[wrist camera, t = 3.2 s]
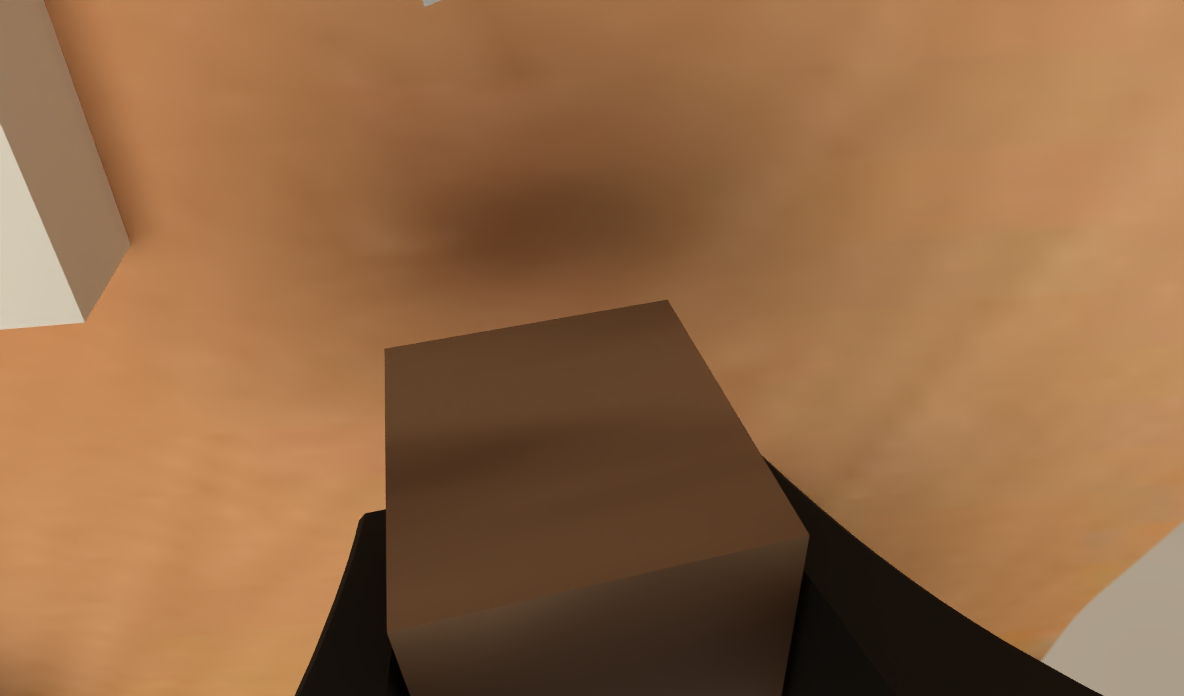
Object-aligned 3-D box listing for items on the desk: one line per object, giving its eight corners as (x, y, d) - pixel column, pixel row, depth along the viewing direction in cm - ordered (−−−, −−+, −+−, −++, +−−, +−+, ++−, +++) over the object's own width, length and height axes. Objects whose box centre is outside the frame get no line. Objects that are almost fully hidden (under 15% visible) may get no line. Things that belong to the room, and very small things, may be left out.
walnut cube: (666, 493, 15) (772, 743, 11) (436, 543, 14) (459, 829, 10) (666, 299, 12) (809, 534, 8) (385, 348, 11) (386, 632, 7)
